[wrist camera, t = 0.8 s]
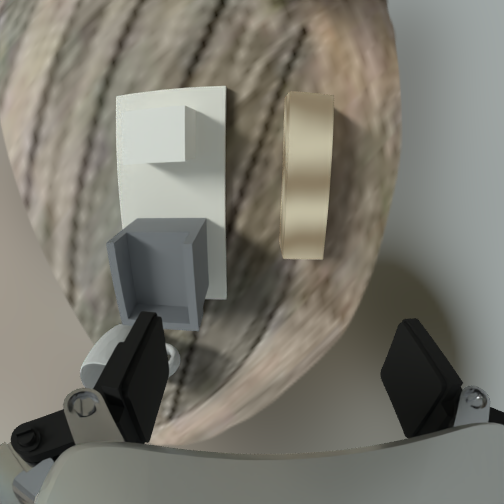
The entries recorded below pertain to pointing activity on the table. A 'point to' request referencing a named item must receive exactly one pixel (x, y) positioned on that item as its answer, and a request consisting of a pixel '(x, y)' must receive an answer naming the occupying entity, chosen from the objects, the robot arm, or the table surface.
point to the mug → (105, 349)
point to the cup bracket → (170, 204)
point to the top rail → (306, 174)
